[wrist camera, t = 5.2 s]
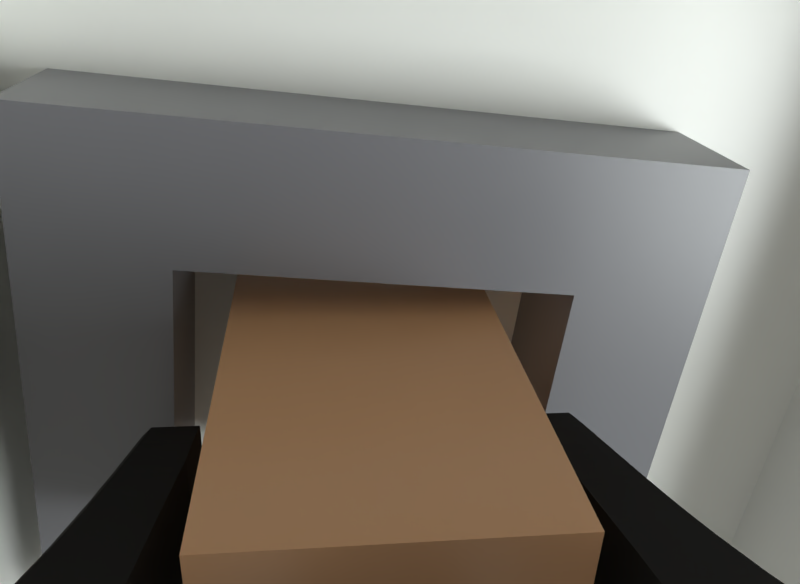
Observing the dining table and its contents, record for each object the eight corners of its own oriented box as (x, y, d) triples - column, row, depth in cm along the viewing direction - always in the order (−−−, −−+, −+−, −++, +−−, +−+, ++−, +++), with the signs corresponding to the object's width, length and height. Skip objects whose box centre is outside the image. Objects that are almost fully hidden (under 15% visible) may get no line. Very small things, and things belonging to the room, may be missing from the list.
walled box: (999, -47, 11) (1278, -39, 8) (701, 646, 17) (788, 803, 14) (-97, -216, 9) (-327, -300, 5) (27, 657, 15) (-48, 848, 12)
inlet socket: (678, 131, 11) (750, 170, 9) (553, 569, 15) (586, 656, 13) (46, 68, 10) (-13, 98, 8) (88, 569, 13) (54, 665, 12)
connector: (467, 254, 12) (687, 698, 5) (451, 434, 13) (602, 960, 6) (241, 256, 11) (140, 744, 4) (252, 441, 13) (190, 1013, 6)
